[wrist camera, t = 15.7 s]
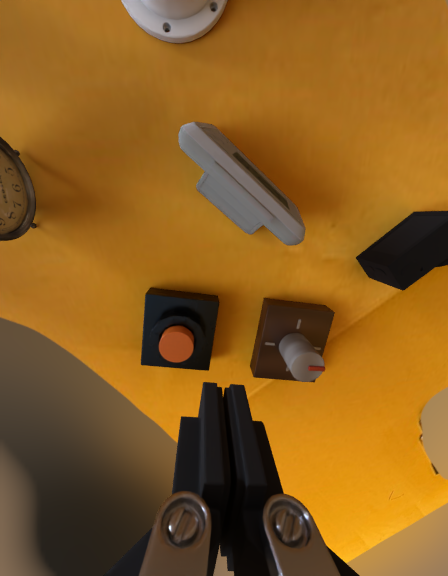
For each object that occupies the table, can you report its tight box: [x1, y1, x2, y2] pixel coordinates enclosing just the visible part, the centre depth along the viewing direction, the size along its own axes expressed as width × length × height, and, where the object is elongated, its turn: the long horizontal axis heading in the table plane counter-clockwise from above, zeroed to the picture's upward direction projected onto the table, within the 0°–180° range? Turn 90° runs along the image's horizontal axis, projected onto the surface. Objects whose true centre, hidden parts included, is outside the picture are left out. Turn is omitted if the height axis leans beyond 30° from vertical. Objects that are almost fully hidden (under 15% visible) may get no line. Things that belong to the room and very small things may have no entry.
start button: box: [159, 325, 194, 362], centre depth 33 cm, size 4×4×2 cm
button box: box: [141, 288, 219, 371], centre depth 36 cm, size 11×10×5 cm
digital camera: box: [356, 211, 448, 290], centre depth 34 cm, size 10×5×7 cm, turn 130°
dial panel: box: [250, 298, 335, 382], centre depth 39 cm, size 12×10×3 cm
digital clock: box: [179, 122, 305, 245], centre depth 28 cm, size 16×9×11 cm, turn 39°
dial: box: [279, 333, 325, 382], centre depth 34 cm, size 4×4×6 cm
